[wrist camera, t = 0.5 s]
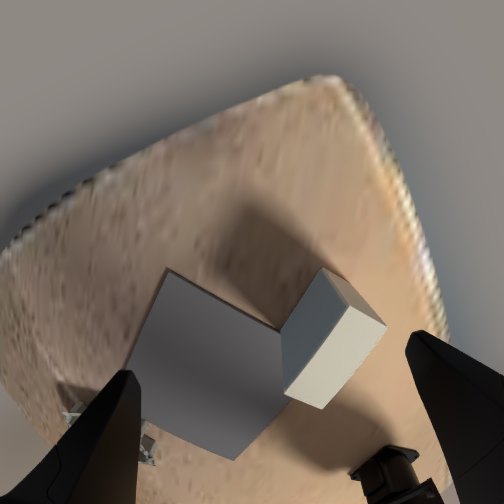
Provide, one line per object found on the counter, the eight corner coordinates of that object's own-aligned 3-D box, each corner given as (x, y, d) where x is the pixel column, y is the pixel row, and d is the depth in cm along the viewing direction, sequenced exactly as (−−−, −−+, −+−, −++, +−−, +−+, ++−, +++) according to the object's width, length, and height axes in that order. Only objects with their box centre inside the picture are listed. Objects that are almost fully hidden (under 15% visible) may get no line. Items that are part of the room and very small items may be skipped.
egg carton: (89, 437, 27) (76, 456, 23) (69, 393, 26) (51, 412, 22) (163, 454, 27) (153, 479, 23) (147, 409, 25) (132, 434, 21)
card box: (350, 283, 21) (388, 327, 14) (308, 345, 22) (322, 409, 15) (320, 265, 21) (347, 304, 13) (278, 330, 22) (281, 392, 15)
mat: (325, 354, 22) (325, 356, 22) (233, 458, 26) (233, 460, 25) (170, 270, 22) (168, 271, 22) (114, 398, 25) (113, 400, 25)
